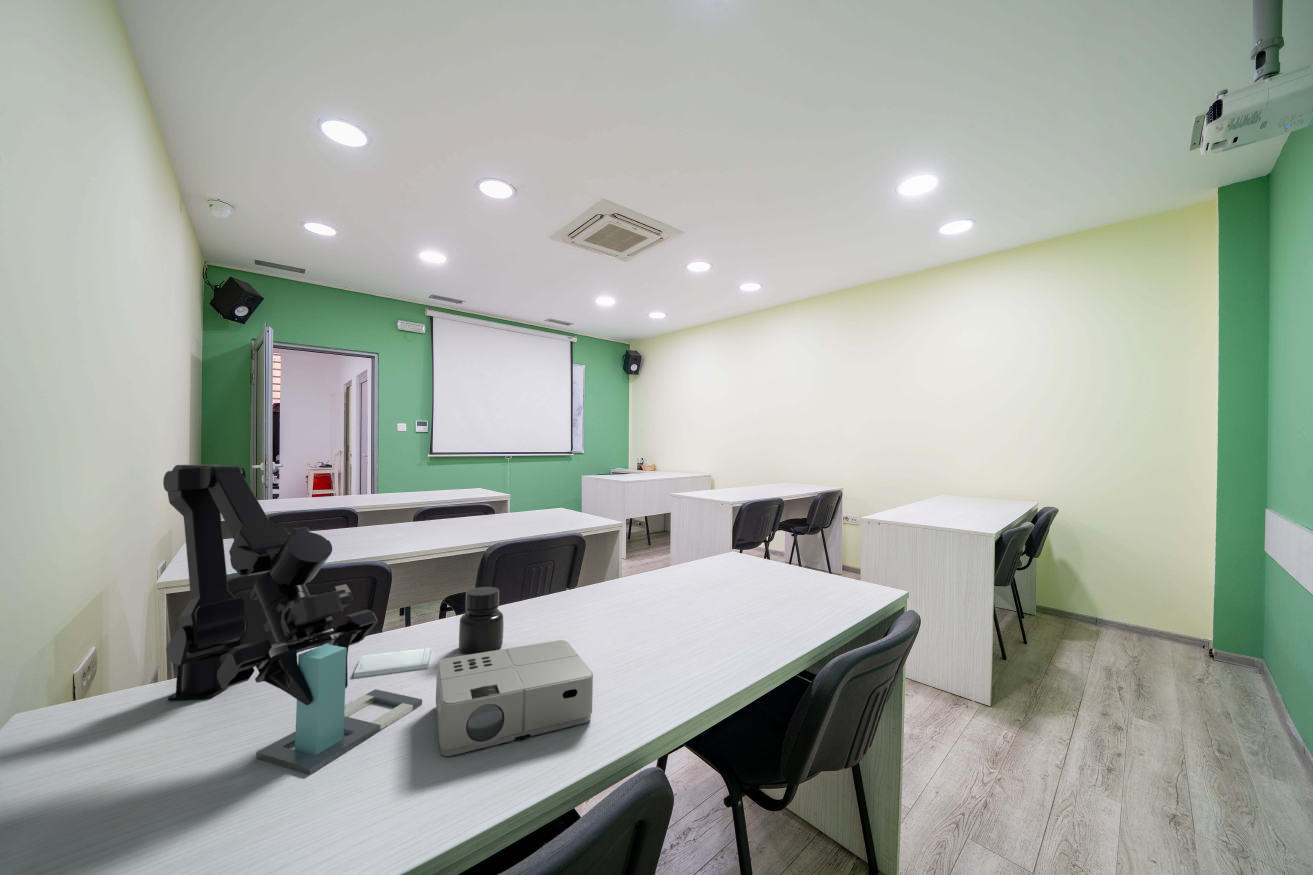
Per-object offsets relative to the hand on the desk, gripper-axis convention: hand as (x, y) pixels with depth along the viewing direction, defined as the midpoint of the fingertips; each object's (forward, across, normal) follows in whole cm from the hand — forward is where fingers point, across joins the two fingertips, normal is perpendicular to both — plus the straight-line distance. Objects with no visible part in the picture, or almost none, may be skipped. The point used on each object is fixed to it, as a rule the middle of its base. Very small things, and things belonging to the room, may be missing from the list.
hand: (327, 695), depth 67 cm
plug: (+4, 0, +6) cm, 7 cm away
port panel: (+4, +4, +6) cm, 8 cm away
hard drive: (-6, +22, +17) cm, 28 cm away
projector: (+17, +19, -6) cm, 26 cm away
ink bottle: (0, +36, +10) cm, 37 cm away
